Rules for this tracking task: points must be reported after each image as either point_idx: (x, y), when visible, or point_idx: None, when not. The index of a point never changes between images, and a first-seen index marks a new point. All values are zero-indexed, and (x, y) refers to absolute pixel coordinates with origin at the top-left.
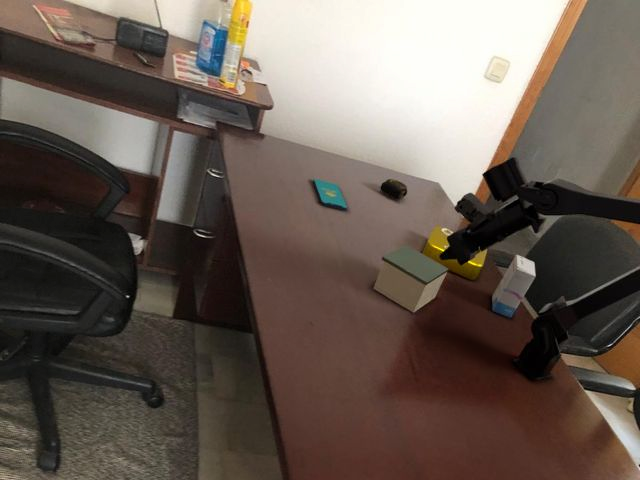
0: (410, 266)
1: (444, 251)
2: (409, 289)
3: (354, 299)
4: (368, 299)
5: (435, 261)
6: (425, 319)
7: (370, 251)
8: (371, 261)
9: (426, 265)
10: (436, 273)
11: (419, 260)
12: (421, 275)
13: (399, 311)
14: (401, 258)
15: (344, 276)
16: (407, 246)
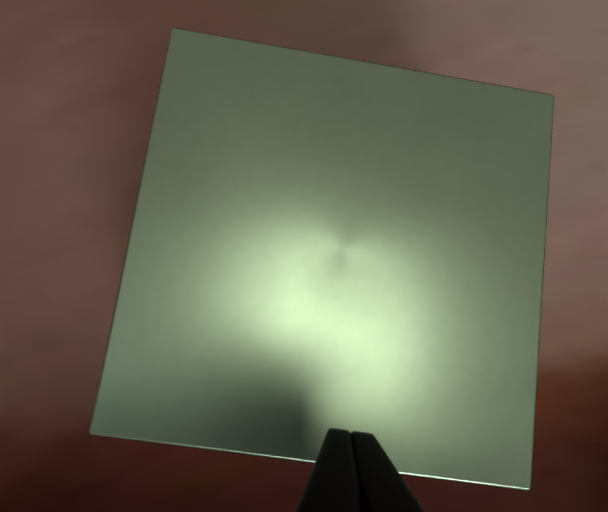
0: (227, 234)
1: (301, 503)
2: None
3: (4, 118)
4: (70, 168)
5: (535, 359)
6: (152, 471)
7: (552, 15)
8: (460, 51)
9: (383, 326)
10: None
11: (409, 255)
12: (162, 353)
13: (101, 331)
14: (285, 140)
15: (180, 8)
16: (534, 112)
